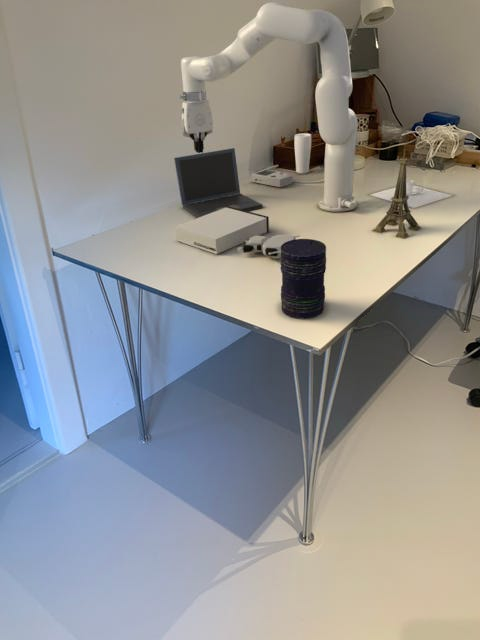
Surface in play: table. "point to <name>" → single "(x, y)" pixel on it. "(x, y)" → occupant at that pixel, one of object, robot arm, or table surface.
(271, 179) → the handheld gaming device
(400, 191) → the eiffel tower
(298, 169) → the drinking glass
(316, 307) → the dark blue cylinder
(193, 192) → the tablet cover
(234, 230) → the disc drive
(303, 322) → the table surface
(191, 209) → the dark grey flat slab
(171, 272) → the table surface
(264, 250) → the robot toy
